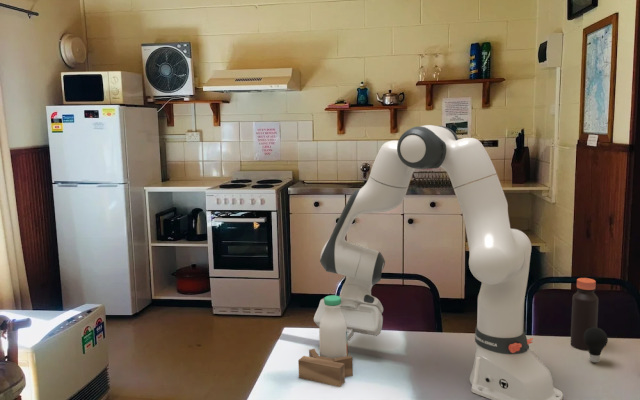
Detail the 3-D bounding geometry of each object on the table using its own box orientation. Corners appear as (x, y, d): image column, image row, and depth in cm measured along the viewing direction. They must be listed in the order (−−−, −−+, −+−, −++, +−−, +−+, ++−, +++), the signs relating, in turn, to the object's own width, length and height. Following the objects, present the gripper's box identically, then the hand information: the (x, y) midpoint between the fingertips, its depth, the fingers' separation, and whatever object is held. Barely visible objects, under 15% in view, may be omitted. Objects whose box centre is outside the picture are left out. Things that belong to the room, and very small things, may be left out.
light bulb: (609, 362, 149) (611, 327, 147) (602, 369, 145) (604, 333, 143) (586, 356, 153) (588, 322, 151) (579, 363, 149) (581, 328, 147)
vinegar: (568, 347, 159) (571, 281, 156) (572, 339, 164) (574, 275, 161) (594, 352, 155) (598, 285, 152) (597, 344, 161) (600, 278, 158)
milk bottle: (345, 374, 145) (344, 302, 143) (317, 372, 147) (315, 301, 144) (349, 362, 153) (348, 293, 150) (323, 360, 154) (321, 292, 152)
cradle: (311, 365, 151) (310, 348, 151) (354, 373, 146) (353, 356, 145) (297, 377, 144) (296, 359, 144) (341, 387, 139) (341, 368, 138)
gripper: (318, 291, 163) (304, 333, 156) (383, 299, 154) (370, 345, 146) (325, 300, 167) (311, 342, 160) (388, 309, 158) (377, 354, 151)
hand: (340, 344), depth 153 cm, fingers closed, pressing on milk bottle
